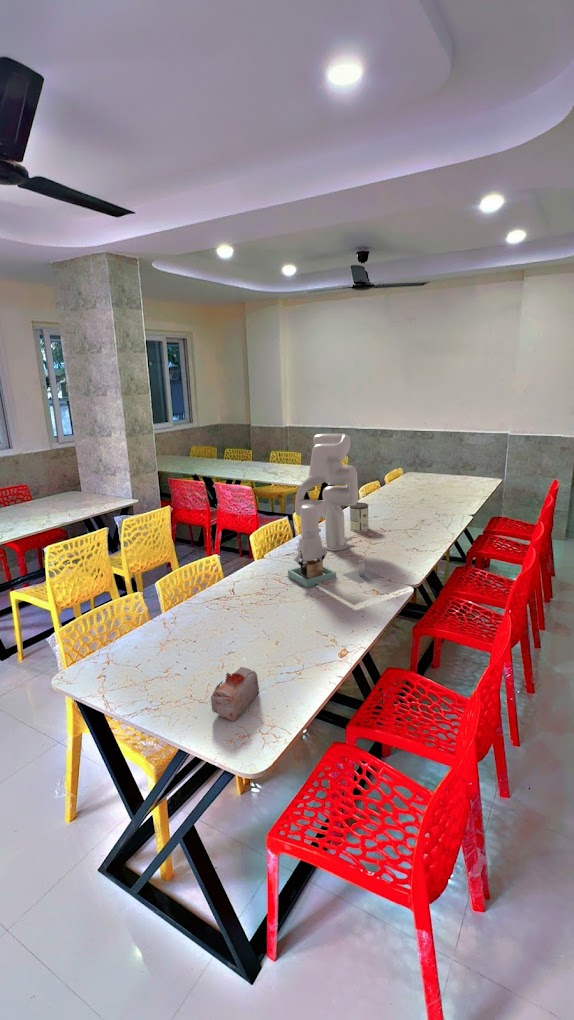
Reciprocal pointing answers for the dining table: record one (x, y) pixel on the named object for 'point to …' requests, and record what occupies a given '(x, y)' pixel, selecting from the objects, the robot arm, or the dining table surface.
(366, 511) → the coffee can
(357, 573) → the stake stand
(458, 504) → the dining table surface
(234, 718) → the food item
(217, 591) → the dining table surface
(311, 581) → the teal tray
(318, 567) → the oak collar
